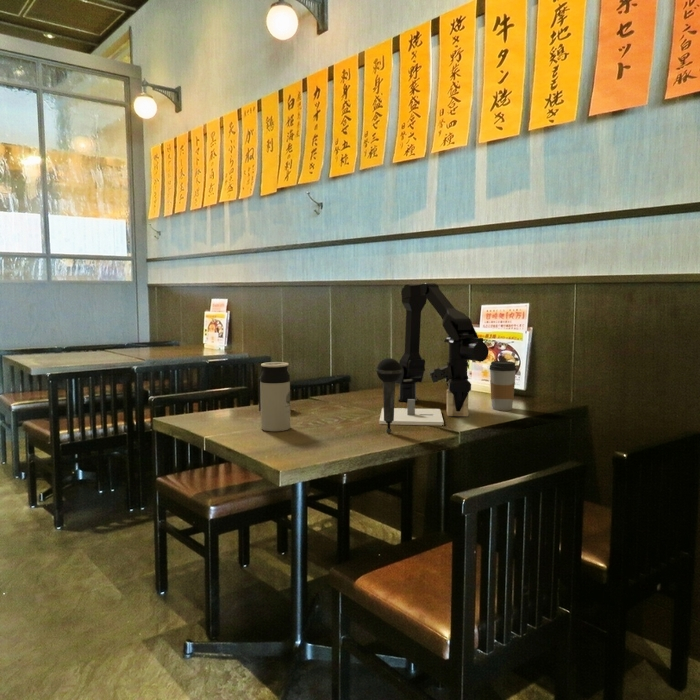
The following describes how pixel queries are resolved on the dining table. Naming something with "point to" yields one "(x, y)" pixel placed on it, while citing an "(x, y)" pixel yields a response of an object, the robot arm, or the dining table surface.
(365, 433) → the dining table surface
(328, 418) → the dining table surface
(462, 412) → the cardboard box
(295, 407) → the dining table surface
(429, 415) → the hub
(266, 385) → the travel mug
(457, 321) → the robot arm
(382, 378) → the microphone
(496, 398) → the coffee cup
